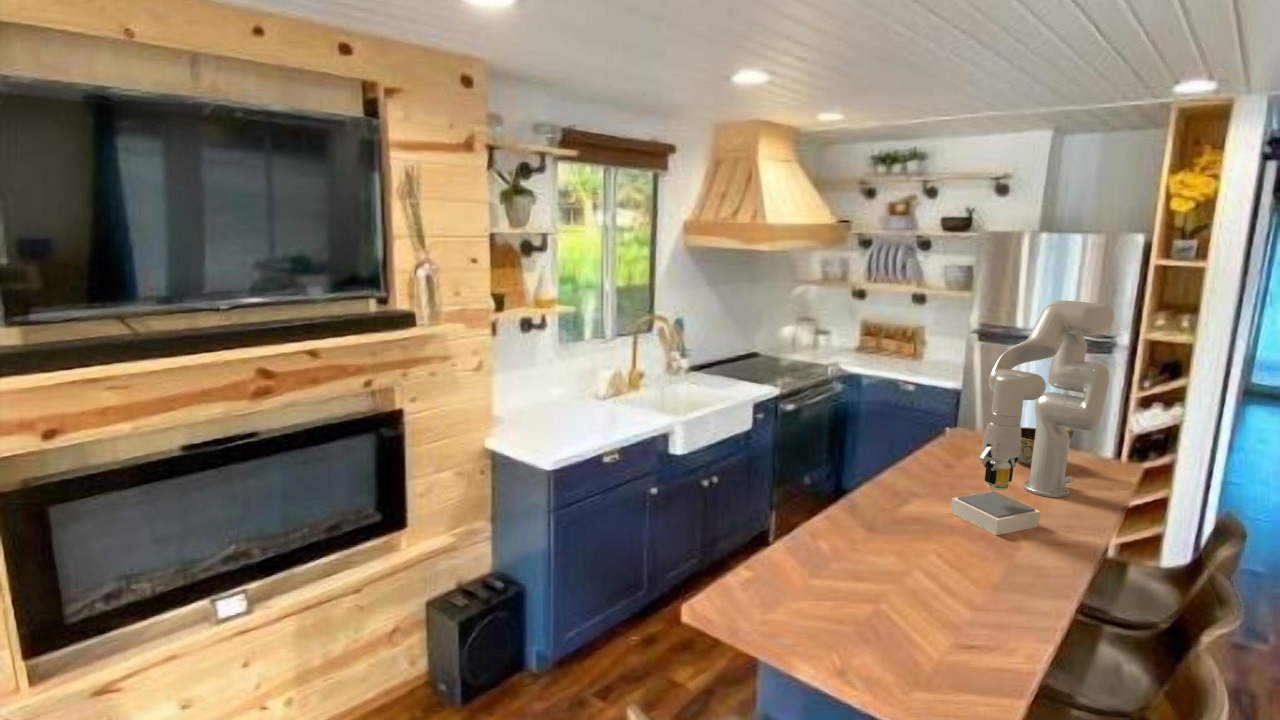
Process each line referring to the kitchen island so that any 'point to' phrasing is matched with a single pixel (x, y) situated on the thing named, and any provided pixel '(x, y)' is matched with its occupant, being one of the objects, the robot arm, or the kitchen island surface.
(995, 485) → the supplement bottle
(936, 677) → the kitchen island surface
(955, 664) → the kitchen island surface
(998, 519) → the plate
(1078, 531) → the kitchen island surface
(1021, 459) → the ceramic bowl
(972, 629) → the kitchen island surface
